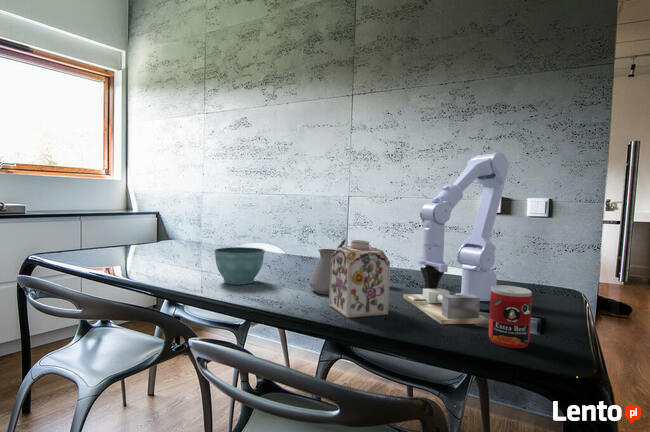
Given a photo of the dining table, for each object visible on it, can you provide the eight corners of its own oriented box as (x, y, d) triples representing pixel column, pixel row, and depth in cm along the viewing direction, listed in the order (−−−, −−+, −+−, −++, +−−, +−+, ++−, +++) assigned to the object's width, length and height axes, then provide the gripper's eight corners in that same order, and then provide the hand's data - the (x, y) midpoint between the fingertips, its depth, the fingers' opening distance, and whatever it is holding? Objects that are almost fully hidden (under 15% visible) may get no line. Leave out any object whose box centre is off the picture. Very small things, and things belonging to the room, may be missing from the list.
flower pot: (204, 280, 129) (205, 248, 128) (247, 275, 139) (248, 245, 139) (228, 290, 117) (229, 254, 116) (273, 283, 128) (274, 251, 127)
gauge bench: (441, 297, 117) (441, 277, 117) (488, 323, 92) (489, 298, 92) (403, 297, 115) (403, 277, 115) (441, 324, 90) (442, 298, 90)
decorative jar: (328, 305, 103) (330, 238, 102) (366, 303, 107) (369, 238, 107) (347, 319, 92) (350, 243, 91) (389, 315, 96) (392, 243, 96)
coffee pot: (338, 298, 112) (340, 246, 111) (302, 293, 116) (304, 243, 116) (359, 284, 132) (361, 240, 131) (328, 280, 136) (330, 238, 135)
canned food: (489, 345, 78) (491, 290, 77) (487, 333, 85) (490, 283, 85) (531, 351, 75) (535, 295, 74) (526, 338, 82) (529, 287, 82)
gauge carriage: (442, 299, 109) (443, 288, 109) (459, 308, 100) (460, 297, 100) (411, 299, 108) (412, 288, 108) (426, 308, 98) (426, 297, 98)
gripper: (410, 242, 116) (408, 287, 116) (430, 248, 102) (428, 299, 102) (432, 242, 117) (430, 287, 118) (455, 248, 103) (453, 299, 103)
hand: (431, 293), depth 110 cm, fingers closed
